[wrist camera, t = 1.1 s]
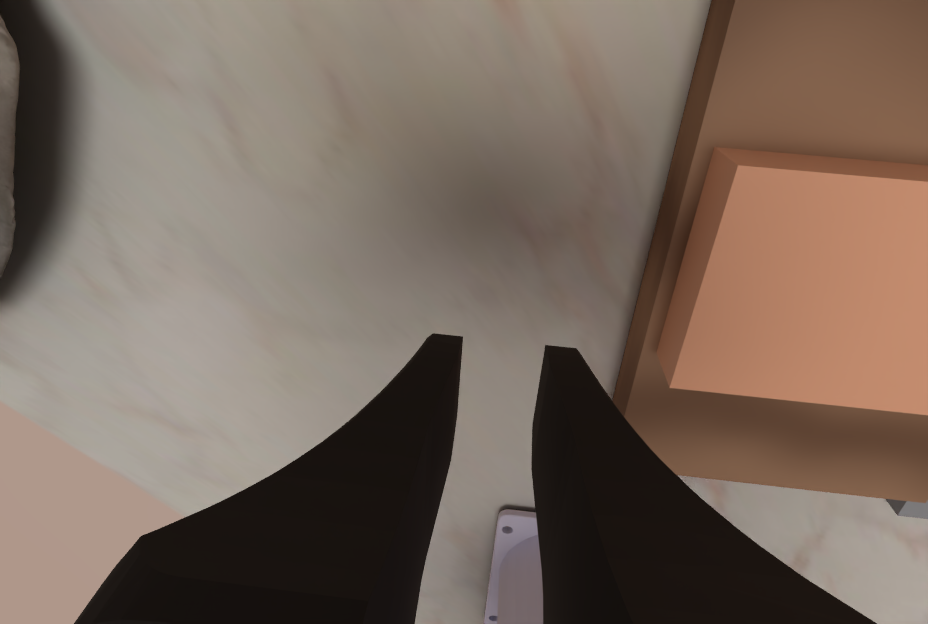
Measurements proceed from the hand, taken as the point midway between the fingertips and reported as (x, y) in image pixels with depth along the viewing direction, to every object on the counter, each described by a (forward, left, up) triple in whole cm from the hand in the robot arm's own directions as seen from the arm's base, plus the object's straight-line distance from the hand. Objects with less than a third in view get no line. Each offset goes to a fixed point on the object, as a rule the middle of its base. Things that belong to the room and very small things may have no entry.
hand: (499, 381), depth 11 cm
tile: (0, -10, -7) cm, 13 cm away
